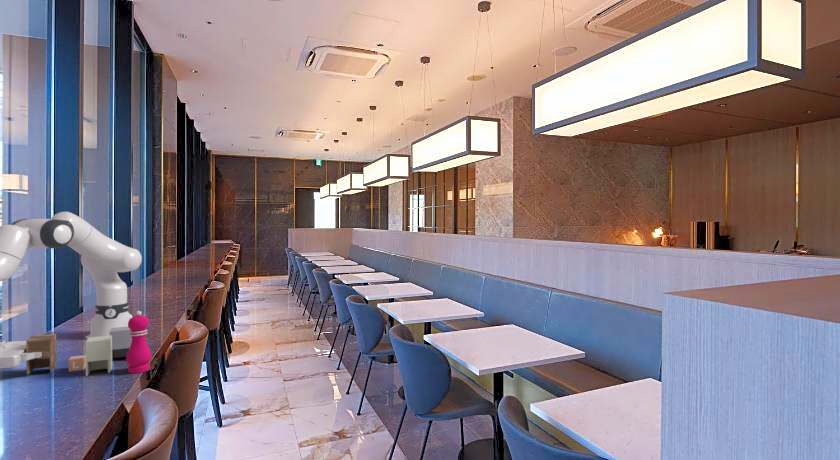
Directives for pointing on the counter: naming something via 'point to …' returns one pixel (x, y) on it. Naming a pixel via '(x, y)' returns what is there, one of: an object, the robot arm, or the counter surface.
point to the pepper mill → (138, 345)
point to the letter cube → (77, 363)
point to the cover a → (46, 346)
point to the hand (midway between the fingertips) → (45, 351)
